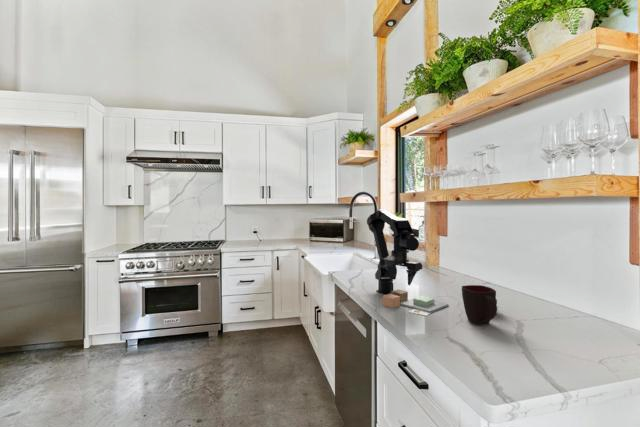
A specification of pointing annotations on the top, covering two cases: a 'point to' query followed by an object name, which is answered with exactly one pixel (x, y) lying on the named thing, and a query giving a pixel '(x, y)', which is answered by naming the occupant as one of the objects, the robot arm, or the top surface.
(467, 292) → the cup
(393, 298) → the brick terracotta
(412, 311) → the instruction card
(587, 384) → the top surface
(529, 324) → the top surface
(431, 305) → the plate
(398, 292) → the brown block
